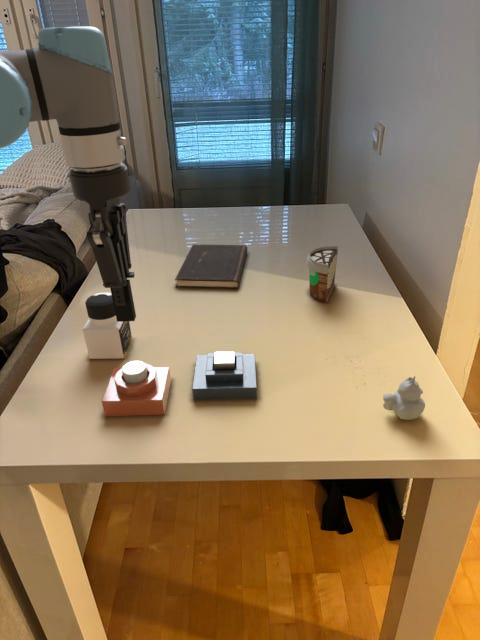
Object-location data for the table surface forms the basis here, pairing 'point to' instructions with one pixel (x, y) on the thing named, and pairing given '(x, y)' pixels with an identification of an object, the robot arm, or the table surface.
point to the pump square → (224, 361)
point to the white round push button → (134, 372)
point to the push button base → (225, 378)
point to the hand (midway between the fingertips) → (126, 318)
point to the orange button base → (137, 393)
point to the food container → (322, 271)
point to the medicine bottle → (105, 329)
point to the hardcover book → (212, 267)
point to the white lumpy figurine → (406, 400)
